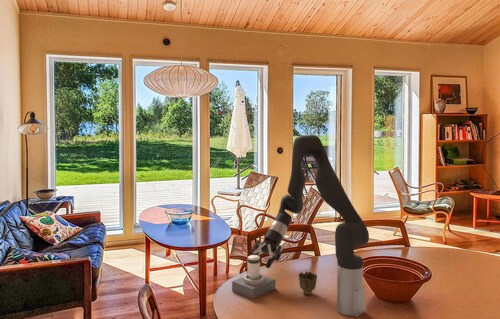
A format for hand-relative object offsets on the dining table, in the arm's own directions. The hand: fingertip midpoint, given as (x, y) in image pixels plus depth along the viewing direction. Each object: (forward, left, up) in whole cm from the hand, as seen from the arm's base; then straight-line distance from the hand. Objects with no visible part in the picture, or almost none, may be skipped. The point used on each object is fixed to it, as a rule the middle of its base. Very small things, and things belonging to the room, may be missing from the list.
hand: (259, 265), depth 161 cm
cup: (-19, -9, -10) cm, 23 cm away
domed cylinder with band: (0, +3, -6) cm, 7 cm away
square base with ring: (0, +3, -10) cm, 10 cm away
